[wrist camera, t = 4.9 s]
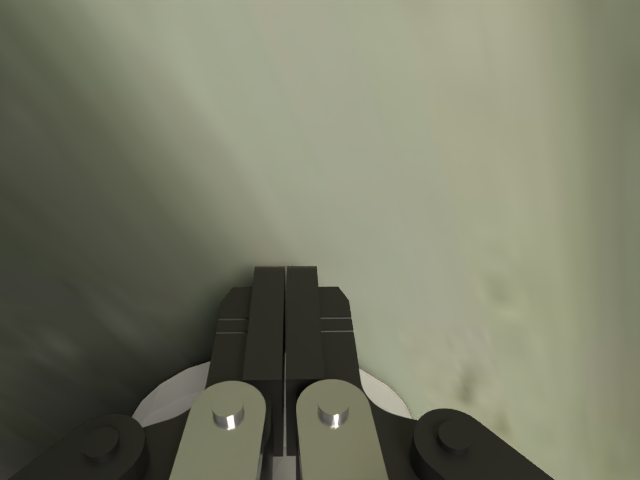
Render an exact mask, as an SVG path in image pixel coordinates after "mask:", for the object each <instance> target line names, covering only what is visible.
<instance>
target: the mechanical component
mask: <svg viewBox="0 0 640 480" xmlns="http://www.w3.org/2000/svg"><path fill="white" fill-rule="evenodd" d="M209 366H210V362H206V363H203V364H200V365H197V366H194V367H191V368H188V369H186V370H184V371H182V372H180V373H179V374H177V375H175V376H173V377H172V378H170V379H168V380H167V381H165V382H163V383H161V384H160V385H159V386H158V387H157V388H155V389H154V390H153V391H152V392H151V393H150V394H149V395H148V396H147V397H146V398H144V399H143V400H142V401H141V403H140V404H139V406H138V408H137V409H136V411H135V412H134V414H133V416H132V418H134V419H135V420H137V421H138V422H139V423H140V425H141V426H142V427H145V426H149V425H152V424H155V423H159V422H162V421H165V420H169V419H171V418H174V417H176V416H178V415H180V414H182V413H184V412H185V411H187V410H188V409H190V408H191V406H192V404H193V402H194V401H195V399H196V398H197V397H198V395H199V394H200V393H201V392H203V391H204V389H205V386H206V382H207V376H208V371H209ZM359 372H360V378H361V384H362V387H363V389H364V392H365V393H366V395H367V396H368V397H369V399H370V400H371V401H372V402H373V403H374V404H376V405H377V406H378V407H380V408H381V409H383V410H385V411H387V412H389V413H392V414H395V415H399V416H402V417H406V418H410V419H412V418H411V416H410V414H409V412H408V410H407V408H406V406H405V404H404V402H403V401H402V400H401V399H400V398H399V397H398V396H397V395H396V394H395V393H394V392H393V391H392V390H391V389H390V388H389V386H387V385H385V384H384V383H382V382H380V381H379V380H377V379H375V378H374V377H372V376H371V375H369V374H367V373H366V372H364V371H362V370H361V369H359ZM285 378H286V353H285ZM272 480H296V456H287V454H286V381H285V391H284V446H283V457H273V477H272Z"/></svg>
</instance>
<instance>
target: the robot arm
mask: <svg viewBox="0 0 640 480" xmlns="http://www.w3.org/2000/svg"><path fill="white" fill-rule="evenodd" d="M285 334H286V378H285ZM285 381H286V454H287V456H296V480H554V479H553V478H551V477H550V476H549V475H547V474H546V473H545V472H544V471H542V470H541V469H540V468H538V467H537V466H536V465H534V464H533V463H532V462H531V461H529V460H528V459H527V458H525V457H524V456H523V455H521V454H520V453H519V452H518V451H516V450H515V449H514V448H512V447H511V446H510V445H508V444H507V443H506V442H504V441H503V440H502V439H501V438H499V437H498V436H497V435H495V434H494V433H493V432H491V431H490V430H489V429H488V428H486V427H485V426H484V425H482V424H481V423H480V422H478V421H477V420H476V419H474V418H473V417H471V416H470V415H468V414H466V413H463V412H461V411H458V410H453V409H445V408H444V409H436V410H432V411H429V412H427V413H426V414H424V415H423V416H422V417H421V418H420V419H419V420H418V421H417V420H413V419H410V418H406V417H402V416H399V415H395V414H392V413H389V412H387V411H385V410H383V409H381V408H380V407H378V406H377V405H376V404H374V403H373V402H372V401H371V400H370V399H369V397H368V396H367V395H366V393H365V392H364V389H363V387H362V384H361V378H360V372H359V365H358V358H357V352H356V345H355V338H354V333H353V325H352V320H351V311H350V305H349V300H348V299H347V297H346V296H345V295H344V294H343V292H342V291H341V290H340V288H339V287H318V277H317V266H287V317H286V315H285V267H255V271H254V280H253V287H240V288H232V289H231V291H230V292H229V293H228V294H227V296H226V297H225V298H224V299H223V301H222V302H221V308H220V313H219V321H218V323H217V329H216V335H215V339H214V345H213V350H212V355H211V360H210V366H209V371H208V376H207V382H206V386H205V389H204V391H203V392H201V393H200V394H199V395H198V397H197V398H196V399H195V401H194V402H193V404H192V406H191V408H190V409H188V410H187V411H185V412H184V413H182V414H180V415H178V416H176V417H174V418H171V419H169V420H165V421H162V422H159V423H155V424H152V425H149V426H145V427H142V426H141V425H140V423H139V422H138V421H137V420H135V419H134V418H132V417H130V416H127V415H123V414H106V415H102V416H98V417H96V418H93V419H91V420H89V421H87V422H85V423H83V424H82V425H80V426H79V427H77V428H76V429H75V430H73V431H72V432H71V433H69V434H68V435H67V436H65V437H64V438H63V439H61V440H60V441H59V442H57V443H56V444H55V445H53V446H52V447H51V448H49V449H48V450H47V451H45V452H44V453H43V454H41V455H40V456H39V457H37V458H36V459H35V460H33V461H32V462H31V463H29V464H28V465H27V466H25V467H24V468H23V469H21V470H20V471H19V472H17V473H16V474H15V475H13V476H12V477H11V478H9V479H8V480H272V477H273V457H283V446H284V391H285Z"/></svg>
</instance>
